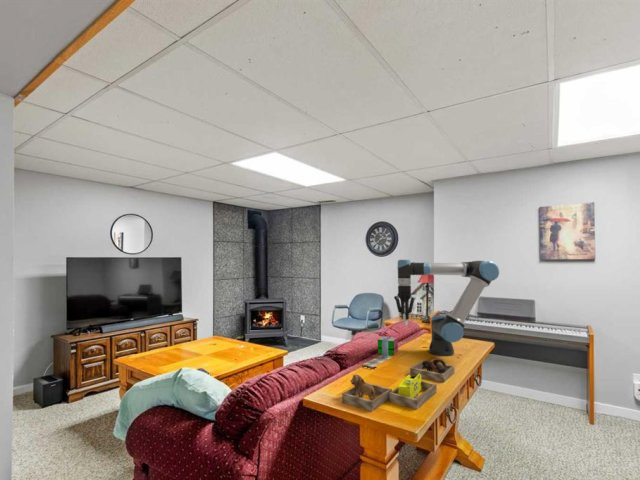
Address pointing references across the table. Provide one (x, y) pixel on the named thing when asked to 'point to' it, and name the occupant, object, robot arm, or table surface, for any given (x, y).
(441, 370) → the pottery mug
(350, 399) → the figurine organizer frame
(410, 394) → the yellow toy chassis
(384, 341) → the blue-grey rounded peg
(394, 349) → the puzzle cube
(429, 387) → the camera organizer frame
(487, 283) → the robot arm
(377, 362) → the track
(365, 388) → the lion figurine
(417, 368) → the frame
